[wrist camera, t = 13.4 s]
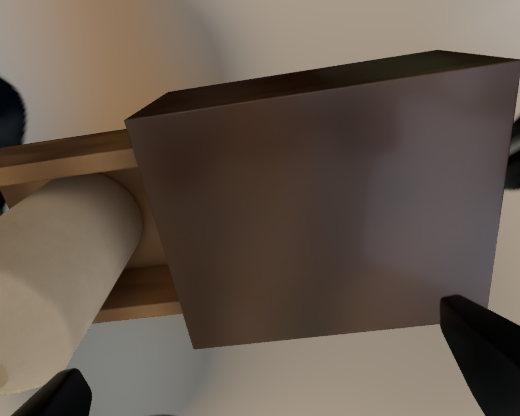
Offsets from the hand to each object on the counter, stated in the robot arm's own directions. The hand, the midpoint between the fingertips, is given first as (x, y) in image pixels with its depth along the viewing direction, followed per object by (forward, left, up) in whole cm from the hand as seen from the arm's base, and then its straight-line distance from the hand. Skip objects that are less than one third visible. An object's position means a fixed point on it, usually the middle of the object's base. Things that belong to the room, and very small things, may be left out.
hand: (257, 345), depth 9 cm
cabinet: (-3, -1, -13) cm, 13 cm away
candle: (+7, +6, -11) cm, 15 cm away
